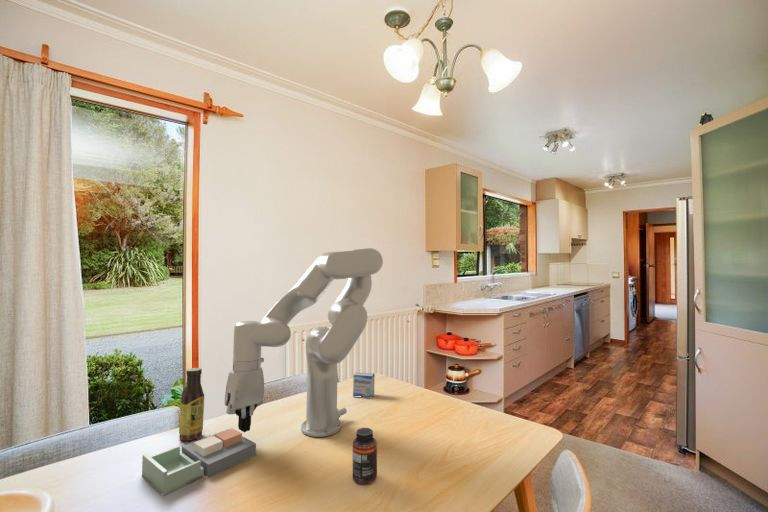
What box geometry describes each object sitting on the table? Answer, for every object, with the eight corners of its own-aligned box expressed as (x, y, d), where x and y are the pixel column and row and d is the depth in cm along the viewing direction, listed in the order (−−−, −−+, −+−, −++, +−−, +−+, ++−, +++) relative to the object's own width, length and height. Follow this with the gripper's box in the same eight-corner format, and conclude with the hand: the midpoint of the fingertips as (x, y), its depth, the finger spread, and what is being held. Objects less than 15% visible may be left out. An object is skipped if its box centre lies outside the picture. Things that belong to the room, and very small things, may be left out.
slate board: (228, 439, 104) (228, 428, 104) (255, 454, 96) (256, 443, 96) (181, 457, 94) (181, 446, 94) (207, 477, 86) (208, 464, 86)
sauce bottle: (192, 443, 102) (194, 373, 102) (173, 441, 103) (175, 372, 104) (208, 433, 108) (209, 367, 109) (190, 430, 109) (192, 365, 110)
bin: (181, 460, 93) (181, 440, 93) (203, 476, 86) (204, 455, 86) (141, 475, 86) (142, 454, 86) (162, 495, 79) (163, 472, 79)
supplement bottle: (369, 468, 90) (369, 423, 90) (381, 480, 85) (382, 432, 85) (347, 476, 87) (348, 429, 87) (359, 489, 82) (360, 439, 82)
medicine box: (352, 397, 139) (352, 374, 140) (355, 393, 144) (355, 371, 144) (372, 398, 138) (372, 376, 138) (374, 394, 142) (374, 372, 143)
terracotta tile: (232, 435, 101) (232, 428, 101) (241, 440, 97) (242, 433, 98) (214, 442, 97) (214, 434, 97) (224, 447, 94) (224, 440, 94)
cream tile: (212, 442, 96) (213, 435, 96) (222, 448, 93) (222, 440, 93) (193, 450, 92) (194, 442, 92) (203, 456, 89) (203, 448, 89)
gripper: (262, 358, 110) (260, 418, 109) (214, 367, 98) (211, 435, 97) (276, 362, 105) (274, 425, 105) (228, 373, 94) (226, 444, 93)
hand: (244, 429), depth 101 cm, fingers closed
